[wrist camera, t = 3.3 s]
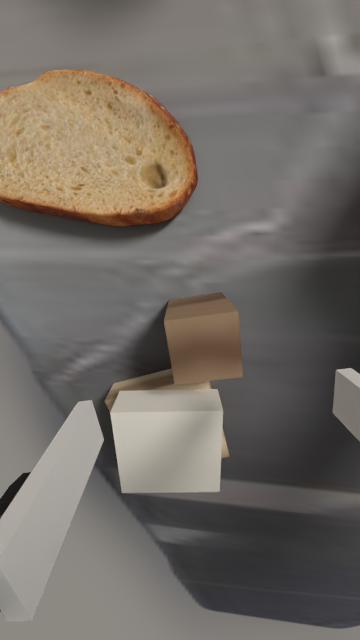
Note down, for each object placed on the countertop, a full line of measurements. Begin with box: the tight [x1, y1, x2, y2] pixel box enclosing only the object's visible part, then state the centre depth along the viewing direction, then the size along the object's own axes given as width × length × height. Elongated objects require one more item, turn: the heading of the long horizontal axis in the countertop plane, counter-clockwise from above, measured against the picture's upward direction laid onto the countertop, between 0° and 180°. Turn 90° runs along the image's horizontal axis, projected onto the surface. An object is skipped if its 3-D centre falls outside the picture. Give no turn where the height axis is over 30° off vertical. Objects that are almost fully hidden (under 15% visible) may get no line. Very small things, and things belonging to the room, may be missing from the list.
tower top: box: [110, 389, 223, 493], centre depth 25 cm, size 11×11×4 cm
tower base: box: [105, 369, 229, 458], centre depth 29 cm, size 12×12×4 cm
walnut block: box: [164, 293, 243, 385], centre depth 22 cm, size 6×6×8 cm
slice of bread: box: [0, 69, 198, 226], centre depth 20 cm, size 18×18×4 cm
